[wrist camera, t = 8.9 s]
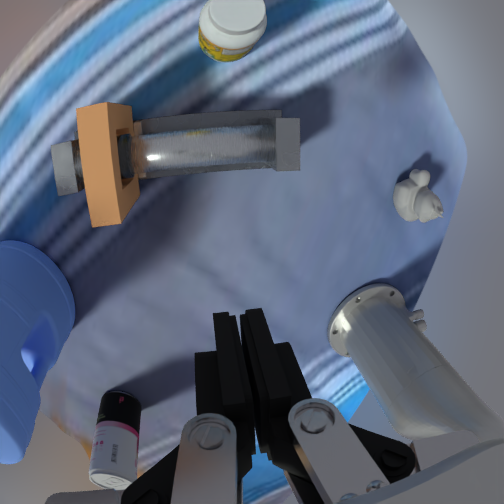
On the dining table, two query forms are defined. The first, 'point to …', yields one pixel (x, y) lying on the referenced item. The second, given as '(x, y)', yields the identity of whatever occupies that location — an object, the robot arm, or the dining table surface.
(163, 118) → the pipe rig
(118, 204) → the collar
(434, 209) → the grey figurine
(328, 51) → the dining table surface
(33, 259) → the water jug
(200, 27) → the supplement bottle
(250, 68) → the dining table surface
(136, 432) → the beverage can
